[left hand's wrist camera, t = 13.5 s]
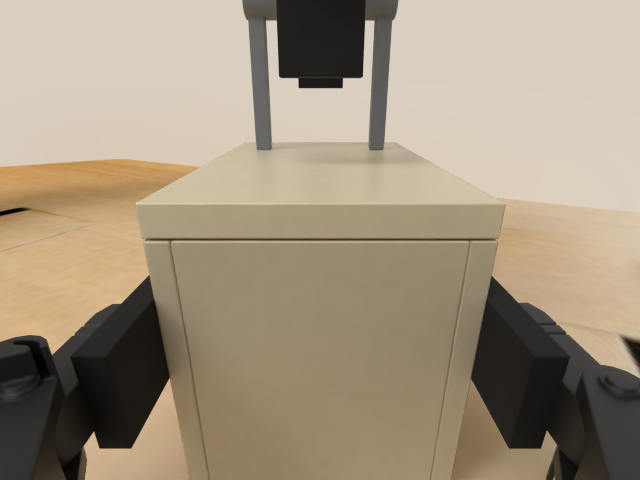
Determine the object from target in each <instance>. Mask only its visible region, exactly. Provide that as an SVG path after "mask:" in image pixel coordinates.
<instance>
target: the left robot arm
mask: <svg viewBox="0 0 640 480" xmlns="http://www.w3.org/2000/svg"><path fill="white" fill-rule="evenodd" d="M169 378H170V376H169V371H168V366H167V361H166V356H165V351H164V346H163V341H162V336H161V331H160V326H159V321H158V316H157V310H156V305H155V300H154V295H153V290H152V285H151V280H150V275H149V276H148V277H147V278H146V279H145V280H144V281H143V282H142V283H141V284H140V285H139V286H138V287H137V288H136V289H135V290H134V291H133V292H132V293H131V294H130V295H129V296H128V298H127V299H126V300H125V301H124V302H123V303H122V304H112V305H110V306H108V307H106V308H105V309H103V310H101V311H99V312H98V313H96V314H95V315H94V316H93V317H92V318H91V319H90V320H89V321H88V322H87V323H85V326H84V327H81V328H80V329H79V330H78V331H77V332H76V333H75V336H72V337H71V338H70V339H69V340H68V341H67V342H66V343H65V344H63V345H62V346H61V347H60V348H59V349H58V350H57V351H56V352H55V353H54V354H53V355H52V354H51V351H50V348H49V346H48V343H47V340H46V339H45V338H43V337H41V336H34V335H28V336H21V337H15V338H12V339H8V340H5V341H2V342H0V480H85V472H86V464H87V458H86V453H85V450H84V447H83V446H84V445H85V443H86V442H87V440H88V439H89V437H90V436H91V435H92V433H93V432H95V436H96V439H97V442H98V445H99V448H132V446H133V444H134V443H135V441H136V439H137V437H138V435H139V433H140V431H141V430H142V428H143V426H144V424H145V422H146V420H147V418H148V417H149V415H150V413H151V411H152V409H153V407H154V406H155V404H156V402H157V400H158V398H159V396H160V394H161V393H162V391H163V389H164V387H165V385H166V383H167V382H168V380H169ZM471 379H472V381H473V383H474V385H475V386H476V388H477V390H478V392H479V394H480V396H481V397H482V399H483V401H484V403H485V405H486V407H487V409H488V410H489V412H490V414H491V416H492V418H493V420H494V421H495V423H496V425H497V427H498V429H499V431H500V433H501V434H502V436H503V438H504V440H505V442H506V444H507V446H508V447H509V449H541V446H542V443H543V440H544V437H545V434H546V431H548V432H549V434H550V435H551V436H552V438H553V439H554V441H555V442H556V444H557V447H556V450H555V453H554V456H553V459H552V461H551V464H550V467H549V470H548V473H547V477H546V480H553V478H554V476H555V480H640V378H638V377H636V376H634V375H632V374H630V373H629V372H626V371H623V370H621V369H618V368H615V367H611V366H605V365H600V364H599V363H598V362H597V361H596V360H595V359H594V358H592V357H591V356H590V355H589V354H588V353H587V352H586V351H585V350H584V349H583V348H582V347H581V346H580V345H579V344H578V343H577V342H576V341H575V340H573V339H572V338H571V337H570V336H569V335H566V332H565V331H564V330H563V329H562V328H561V327H560V326H559V325H556V322H554V321H553V320H552V319H551V318H550V317H549V316H548V315H547V314H546V313H545V312H543V311H542V310H540V309H538V308H536V307H534V306H533V305H531V304H529V303H518V302H517V301H516V300H515V299H514V298H513V297H512V296H511V295H510V294H509V293H508V292H507V291H506V290H505V289H504V288H503V287H502V286H501V285H500V284H499V283H498V282H497V281H496V280H495V279H494V278H493V277H492V276H491V280H490V285H489V290H488V295H487V299H486V304H485V309H484V314H483V319H482V324H481V329H480V334H479V339H478V345H477V350H476V355H475V360H474V365H473V370H472V375H471Z"/></svg>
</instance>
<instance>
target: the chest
mask: <svg viewBox="0 0 640 480" xmlns="http://www.w3.org/2000/svg"><path fill="white" fill-rule="evenodd" d="M143 245H144V250H145V255H146V260H147V265H148V270H149V275H150V280H151V285H152V290H153V295H154V300H155V305H156V310H157V316H158V321H159V326H160V331H161V336H162V341H163V346H164V351H165V356H166V361H167V366H168V371H169V376H170V381H171V387H172V392H173V397H174V402H175V407H176V412H177V417H178V422H179V427H180V432H181V437H182V442H183V447H184V452H185V457H186V463H187V468H188V473H189V478H190V480H451V476H452V471H453V466H454V461H455V456H456V451H457V446H458V441H459V436H460V431H461V426H462V421H463V416H464V411H465V406H466V401H467V396H468V391H469V386H470V381H471V375H472V370H473V365H474V360H475V355H476V350H477V345H478V339H479V334H480V329H481V324H482V319H483V314H484V309H485V304H486V299H487V295H488V290H489V285H490V280H491V275H492V270H493V265H494V260H495V255H496V250H497V245H498V241H496V240H495V239H146V240H145V241H144V243H143Z"/></svg>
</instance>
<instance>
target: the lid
mask: <svg viewBox="0 0 640 480" xmlns="http://www.w3.org/2000/svg"><path fill="white" fill-rule="evenodd" d="M242 2H243V9H244V14H245V17H246V19H247V20H248V22H249V38H250V53H251V69H252V85H253V101H254V116H255V132H256V143H243V144H242V145H240V146H238V147H236V148H234V149H232V150H231V151H229V152H227V153H225V154H224V155H222V156H220V157H218V158H216V159H214V160H213V161H211V162H209V163H207V164H205V165H204V166H202V167H200V168H198V169H196V170H194V171H193V172H191V173H189V174H187V175H185V176H184V177H182V178H180V179H178V180H176V181H175V182H173V183H171V184H169V185H167V186H165V187H164V188H162V189H160V190H158V191H156V192H155V193H153V194H151V195H149V196H147V197H146V198H144V199H142V200H140V201H138V202H136V203H135V207H136V212H137V217H138V222H139V227H140V232H141V237H142V238H143V239H498V238H499V235H500V230H501V225H502V220H503V215H504V210H505V203H504V202H502V201H500V200H498V199H497V198H495V197H493V196H491V195H489V194H488V193H486V192H484V191H482V190H480V189H478V188H477V187H475V186H473V185H471V184H469V183H468V182H466V181H464V180H462V179H460V178H459V177H457V176H455V175H453V174H451V173H449V172H448V171H446V170H444V169H442V168H440V167H439V166H437V165H435V164H433V163H431V162H430V161H428V160H426V159H424V158H422V157H420V156H419V155H417V154H415V153H413V152H411V151H409V150H408V149H406V148H404V147H402V146H401V145H399V144H397V143H384V137H385V121H386V106H387V91H388V75H389V60H390V45H391V29H392V20H394V18H395V16H396V12H397V6H398V0H366V8H365V20H375V26H374V46H373V66H372V86H371V107H370V127H369V143H272V138H271V117H270V96H269V75H268V54H267V33H266V20H277V7H276V0H242Z"/></svg>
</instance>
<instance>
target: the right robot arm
mask: <svg viewBox="0 0 640 480" xmlns="http://www.w3.org/2000/svg"><path fill="white" fill-rule="evenodd" d="M276 7H277V33H278V59H279V77H281V78H299V88H342V87H343V78H361V77H363V58H364V33H365V8H366V0H276Z"/></svg>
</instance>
